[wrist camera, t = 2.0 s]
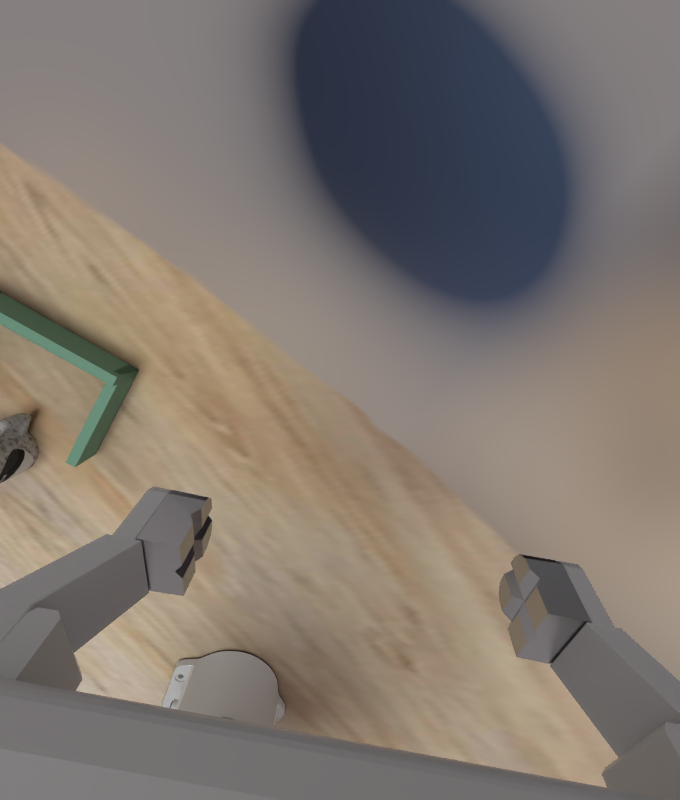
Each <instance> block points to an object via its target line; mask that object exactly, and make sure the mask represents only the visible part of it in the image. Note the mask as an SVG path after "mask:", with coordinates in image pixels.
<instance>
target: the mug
mask: <svg viewBox="0 0 680 800" xmlns="http://www.w3.org/2000/svg"><path fill="white" fill-rule="evenodd" d="M30 421H31V416H30V414H27V413H21V414H16V415H13V416H10V417H8V418H5V419H3V420H1V421H0V483H2V482H3V481H5V480H7V479H9V478H11V477H13V476H15V475H17V474H18V473H20V472H22V471H24V470H26V469H28V468H30V467H31V466H32V465H33V464H34V463H35V461H36V460H37V457H38V445H37V443H36V441H35V439H34V437H33V436H32V435H31V434H30V433H29V432H28V427H29V424H30Z"/></svg>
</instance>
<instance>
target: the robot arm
mask: <svg viewBox="0 0 680 800" xmlns="http://www.w3.org/2000/svg"><path fill="white" fill-rule="evenodd" d="M211 509H212V500H211V498H208V497H204V496H199V495H194V494H189V493H185V492H180V491H175V490H169V489H164V488H159V487H152V488H151V489H149V490H148V491H147V492H146V493H145V494H144V496H143V497H142V498H141V500H140V501H139V502H138V503H137V505H136V506H135V507H134V508H133V510H132V511H131V512H130V514H129V515H128V516H127V517H126V519H125V520H124V521H123V523H122V524H121V525H120V526H119V528H118V529H117V530H116V531H115V533H114V534H113V535H108V534H106V535H104V536H102V537H100V538H98V539H96V540H95V541H93V542H91V543H89V544H87V545H85V546H83V547H81V548H79V549H77V550H75V551H73V552H71V553H69V554H67V555H66V556H64V557H62V558H60V559H58V560H56V561H54V562H52V563H50V564H48V565H46V566H44V567H42V568H40V569H39V570H37V571H35V572H33V573H31V574H29V575H27V576H25V577H23V578H21V579H19V580H17V581H15V582H13V583H11V584H10V585H8V586H6V587H4V588H2V589H0V800H680V681H679V680H678V679H676V678H675V677H674V676H673V675H672V674H671V673H670V672H669V671H668V670H666V669H665V668H664V667H663V666H662V665H661V664H660V663H658V661H656V660H655V659H654V658H653V657H652V656H651V655H650V654H649V653H648V652H647V651H645V650H644V649H643V648H642V647H641V646H640V645H639V644H638V643H637V642H635V641H634V640H633V639H632V638H631V637H630V636H629V635H628V634H627V633H626V632H624V631H623V630H622V629H620V628H615V626H614V625H613V623H612V621H611V619H610V617H609V616H608V614H607V612H606V610H605V609H604V607H603V605H602V603H601V601H600V599H599V598H598V596H597V594H596V592H595V590H594V589H593V587H592V585H591V583H590V581H589V580H588V578H587V576H586V574H585V572H584V571H583V569H582V568H581V567H580V566H579V565H577V564H572V563H566V562H561V561H555V560H550V559H544V558H539V557H532V556H527V555H521V554H519V555H517V556H515V557H514V559H513V560H512V562H511V565H512V568H513V570H511V571H509V572H507V573H505V574H504V576H503V577H502V579H501V581H500V586H499V600H500V604H501V608H502V611H503V613H504V614H505V615H506V616H507V617H508V618H509V619H510V621H511V623H510V625H509V627H508V631H509V635H510V638H511V641H512V644H513V648H514V651H515V654H516V657H520V658H524V659H529V660H534V661H538V662H543V663H548V664H551V665H550V666H551V668H552V669H553V670H554V672H555V673H556V674H557V676H558V677H559V678H560V680H561V681H562V682H563V684H564V685H565V686H566V688H567V689H568V690H569V692H570V693H571V694H572V696H573V697H574V698H575V700H576V701H577V702H578V704H579V705H580V706H581V708H582V709H583V710H584V712H585V713H586V714H587V716H588V717H589V718H590V720H591V721H592V722H593V724H594V725H595V726H596V728H597V729H598V730H599V732H600V733H601V734H602V736H603V737H604V738H605V740H606V741H607V742H608V744H609V745H610V746H611V748H612V749H613V750H614V752H615V753H616V754H617V756H618V757H619V758H617V759H616V760H615V761H613V762H612V763H611V764H609V765H608V766H607V767H605V769H604V771H603V773H602V775H603V778H604V780H605V783H606V786H607V788H605V787H600V786H594V785H589V784H583V783H578V782H572V781H567V780H561V779H556V778H551V777H545V776H540V775H534V774H529V773H523V772H518V771H512V770H507V769H501V768H496V767H490V766H485V765H479V764H474V763H468V762H463V761H458V760H452V759H447V758H441V757H436V756H430V755H425V754H419V753H414V752H408V751H403V750H397V749H392V748H386V747H381V746H375V745H370V744H364V743H359V742H353V741H348V740H342V739H337V738H331V737H326V736H320V735H315V734H309V733H304V732H298V731H293V730H287V729H282V728H276V727H275V723H276V722H277V721H278V720H279V719H280V718H282V717H283V715H284V712H285V704H284V702H283V700H282V699H281V697H280V696H279V693H278V683H277V679H276V677H275V674H274V673H273V671H272V670H271V669H270V667H269V666H268V665H267V664H266V663H264V662H263V661H262V660H260V659H259V658H257V657H255V656H252V655H250V654H247V653H243V652H238V651H222V652H216V653H213V654H210V655H207V656H205V657H202V658H199V659H184V660H180V661H179V662H178V663H177V664H176V667H175V670H174V673H173V675H172V678H171V681H170V684H169V687H168V689H167V692H166V695H165V698H164V701H163V704H162V706H155V705H150V704H145V703H139V702H134V701H128V700H123V699H117V698H112V697H106V696H101V695H95V694H90V693H84V692H79V691H76V689H77V687H78V686H79V684H80V682H81V681H82V675H81V671H80V668H79V665H78V663H77V660H76V657H75V655H74V652H75V651H77V650H78V649H79V648H80V647H82V646H83V645H84V644H85V643H87V642H88V641H89V640H90V639H92V638H93V637H94V636H95V635H97V634H98V633H99V632H100V631H102V630H103V629H104V628H105V627H107V626H108V625H109V624H110V623H112V622H113V621H114V620H115V619H117V618H118V617H119V616H120V615H122V614H123V613H124V612H125V611H127V610H128V609H129V608H130V607H132V606H133V605H134V604H135V603H137V602H138V601H139V600H140V599H142V598H143V597H144V596H145V595H147V594H148V593H149V591H155V592H162V593H168V594H175V595H182V596H184V594H185V592H186V590H187V588H188V586H189V584H190V582H191V580H192V578H193V575H194V573H195V561H197V560H198V559H200V558H201V557H203V555H204V553H205V550H206V548H207V546H208V543H209V539H210V536H211V531H212V520H211V518H210V517H209V516H208V515H209V513H210V511H211Z"/></svg>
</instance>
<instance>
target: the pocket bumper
mask: <svg viewBox="0 0 680 800" xmlns="http://www.w3.org/2000/svg"><path fill="white" fill-rule="evenodd" d="M0 325H2V326H4V327H6V328H8V329H10V330H11V331H13V332H15V333H17V334H19V335H20V336H22V337H24V338H26V339H28V340H29V341H31V342H33V343H35V344H37V345H39V346H40V347H42V348H44V349H46V350H48V351H49V352H51V353H53V354H55V355H57V356H58V357H60V358H62V359H64V360H66V361H68V362H69V363H71V364H73V365H75V366H77V367H78V368H80V369H82V370H84V371H86V372H87V373H89V374H91V375H93V376H95V377H97V378H98V379H100V380H102V381H104V382H106V383H105V385H104V387H103V389H102V391H101V393H100V395H99V397H98V399H97V401H96V403H95V405H94V407H93V409H92V411H91V413H90V415H89V417H88V419H87V421H86V423H85V425H84V427H83V429H82V431H81V433H80V435H79V437H78V439H77V441H76V443H75V445H74V447H73V449H72V451H71V453H70V455H69V457H68V459H67V461H66V463H68V464H70V465H72V466H74V467H76V466H78V465H79V464H81V463H83V462H84V461H86V460H87V459H89V458H90V457H92V456H94V455H95V454H96V452H97V450H98V448H99V446H100V444H101V442H102V440H103V438H104V436H105V435H106V433H107V431H108V429H109V427H110V425H111V423H112V421H113V419H114V417H115V415H116V413H117V411H118V409H119V408H120V406H121V404H122V402H123V400H124V398H125V396H126V394H127V392H128V390H129V388H130V386H131V384H132V382H133V381H134V379H135V377H136V375H137V373H138V371H139V370H138V369H136V368H134V367H132V366H131V365H129V364H127V363H125V362H123V361H122V360H120V359H118V358H116V357H115V356H113V355H111V354H109V353H108V352H106V351H104V350H102V349H100V348H99V347H97V346H95V345H93V344H92V343H90V342H88V341H86V340H85V339H83V338H81V337H79V336H77V335H76V334H74V333H72V332H70V331H69V330H67V329H65V328H63V327H62V326H60V325H58V324H56V323H54V322H53V321H51V320H49V319H47V318H46V317H44V316H42V315H40V314H39V313H37V312H35V311H33V310H31V309H30V308H28V307H26V306H24V305H23V304H21V303H19V302H17V301H16V300H14V299H12V298H10V297H8V296H7V295H5V294H3V293H1V292H0Z"/></svg>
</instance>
